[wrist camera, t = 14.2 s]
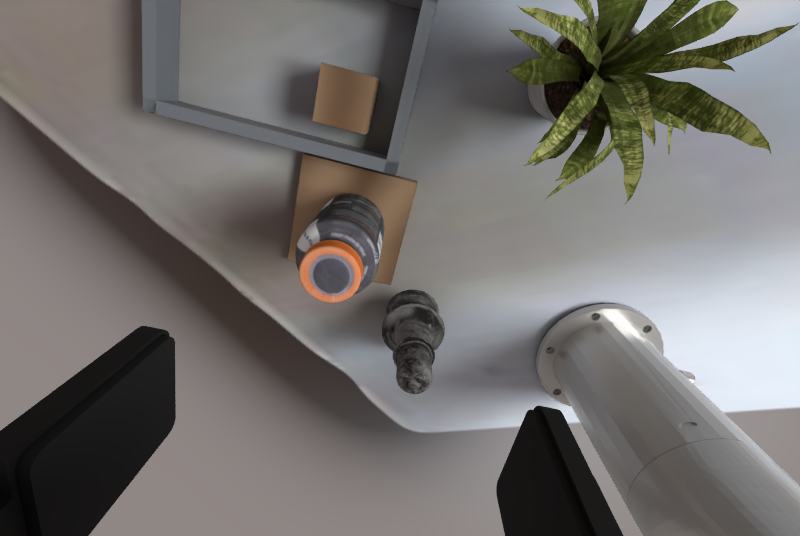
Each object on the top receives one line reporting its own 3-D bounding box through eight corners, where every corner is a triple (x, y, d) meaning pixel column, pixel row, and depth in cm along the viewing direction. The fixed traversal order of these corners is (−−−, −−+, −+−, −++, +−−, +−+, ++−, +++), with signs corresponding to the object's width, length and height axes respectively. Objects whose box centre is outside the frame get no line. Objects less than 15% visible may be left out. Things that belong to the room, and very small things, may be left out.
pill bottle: (306, 212, 34) (262, 258, 24) (363, 180, 33) (343, 213, 23) (342, 266, 36) (316, 330, 26) (397, 237, 35) (393, 292, 25)
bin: (437, -2, 29) (440, -14, 26) (396, 169, 34) (395, 175, 31) (167, -81, 27) (140, -103, 25) (165, 110, 32) (142, 110, 29)
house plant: (441, 3, 29) (477, -113, 14) (629, -73, 27) (911, -305, 12) (486, 184, 34) (549, 243, 19) (648, 131, 32) (862, 149, 17)
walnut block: (379, 81, 31) (376, 77, 27) (369, 132, 33) (364, 134, 29) (331, 68, 31) (321, 62, 27) (323, 119, 32) (312, 120, 29)
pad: (417, 181, 34) (417, 183, 33) (390, 280, 38) (390, 284, 37) (305, 152, 33) (303, 153, 32) (290, 257, 37) (287, 260, 36)
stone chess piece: (388, 340, 40) (381, 427, 29) (379, 290, 38) (368, 364, 27) (444, 334, 40) (457, 420, 29) (438, 283, 38) (451, 356, 27)
